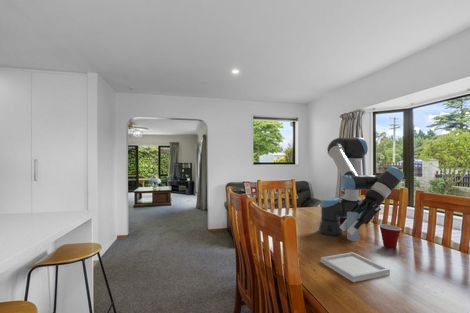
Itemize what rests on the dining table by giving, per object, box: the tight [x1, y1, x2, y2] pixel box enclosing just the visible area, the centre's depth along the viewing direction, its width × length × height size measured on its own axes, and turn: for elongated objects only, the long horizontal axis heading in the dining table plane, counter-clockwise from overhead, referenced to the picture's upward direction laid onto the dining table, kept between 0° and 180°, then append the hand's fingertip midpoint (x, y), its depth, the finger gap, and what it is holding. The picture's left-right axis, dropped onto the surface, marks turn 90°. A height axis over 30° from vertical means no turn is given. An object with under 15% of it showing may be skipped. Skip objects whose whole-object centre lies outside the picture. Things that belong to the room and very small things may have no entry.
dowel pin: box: [346, 212, 360, 242], centre depth 108 cm, size 5×5×12 cm
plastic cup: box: [378, 223, 403, 250], centre depth 132 cm, size 11×11×12 cm
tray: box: [320, 251, 391, 283], centre depth 107 cm, size 20×20×2 cm
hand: (345, 231), depth 107 cm, fingers closed on dowel pin, 5 cm apart
